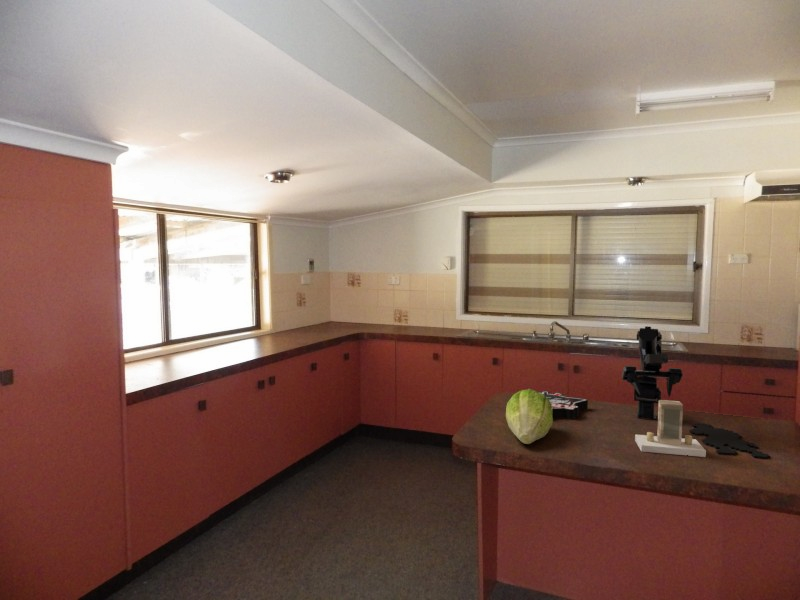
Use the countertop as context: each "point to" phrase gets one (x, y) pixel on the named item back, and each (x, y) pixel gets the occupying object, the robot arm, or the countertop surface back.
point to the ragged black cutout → (726, 441)
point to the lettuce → (529, 415)
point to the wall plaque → (565, 405)
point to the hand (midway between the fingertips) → (654, 395)
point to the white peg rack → (670, 446)
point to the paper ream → (670, 422)
